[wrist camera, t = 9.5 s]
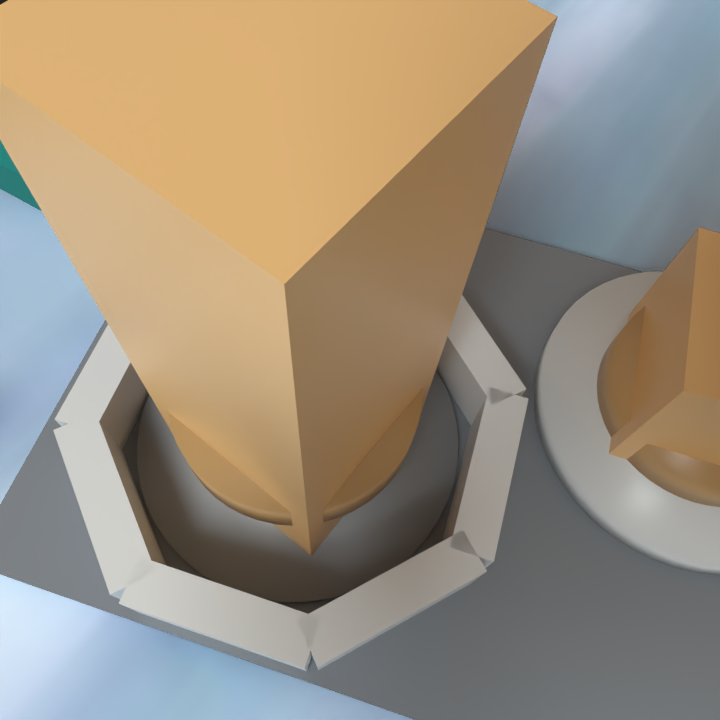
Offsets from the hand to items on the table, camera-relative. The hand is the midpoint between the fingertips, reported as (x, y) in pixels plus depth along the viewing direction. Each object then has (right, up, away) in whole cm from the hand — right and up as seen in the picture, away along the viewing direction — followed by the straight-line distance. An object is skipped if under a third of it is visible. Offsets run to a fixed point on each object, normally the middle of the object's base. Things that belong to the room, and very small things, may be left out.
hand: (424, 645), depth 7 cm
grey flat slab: (+2, +1, +11) cm, 12 cm away
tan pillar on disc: (-2, +1, +10) cm, 11 cm away
